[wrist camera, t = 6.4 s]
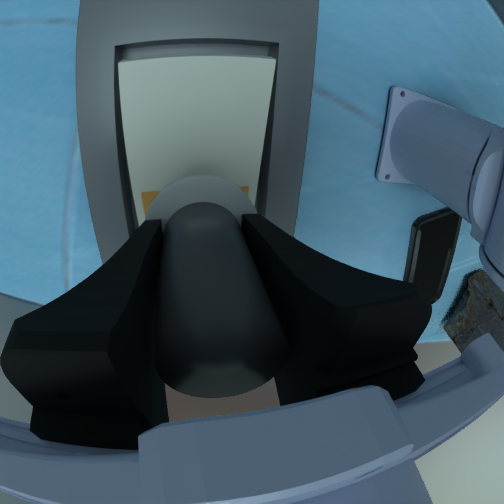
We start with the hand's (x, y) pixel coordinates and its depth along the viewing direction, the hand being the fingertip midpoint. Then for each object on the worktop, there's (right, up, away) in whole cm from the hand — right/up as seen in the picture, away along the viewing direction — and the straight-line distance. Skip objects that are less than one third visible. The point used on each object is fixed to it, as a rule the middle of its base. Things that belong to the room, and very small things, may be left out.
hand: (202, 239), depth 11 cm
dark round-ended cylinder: (-1, +2, +3) cm, 3 cm away
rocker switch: (-1, +5, +3) cm, 6 cm away
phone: (+23, -2, +19) cm, 30 cm away
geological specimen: (+35, -8, +26) cm, 44 cm away
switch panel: (-2, +7, +6) cm, 9 cm away
